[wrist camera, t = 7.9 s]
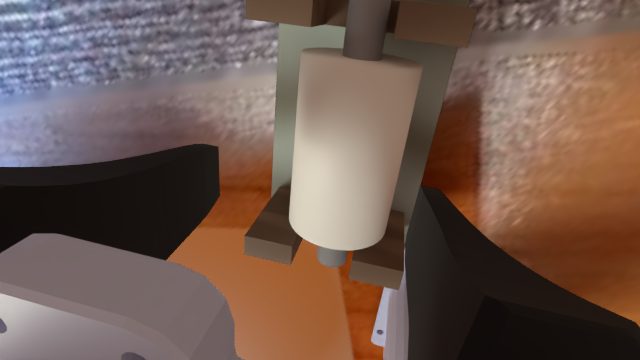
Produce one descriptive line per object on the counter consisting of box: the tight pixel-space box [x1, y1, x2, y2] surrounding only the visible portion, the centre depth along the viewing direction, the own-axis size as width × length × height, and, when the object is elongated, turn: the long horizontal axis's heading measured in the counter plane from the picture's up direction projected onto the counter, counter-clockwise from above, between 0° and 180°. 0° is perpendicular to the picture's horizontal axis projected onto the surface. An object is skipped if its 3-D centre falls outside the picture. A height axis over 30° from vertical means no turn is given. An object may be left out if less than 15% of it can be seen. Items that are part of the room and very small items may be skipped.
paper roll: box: [289, 0, 423, 267], centre depth 16 cm, size 13×5×5 cm
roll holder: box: [245, 0, 478, 291], centre depth 18 cm, size 16×9×6 cm, turn 174°
